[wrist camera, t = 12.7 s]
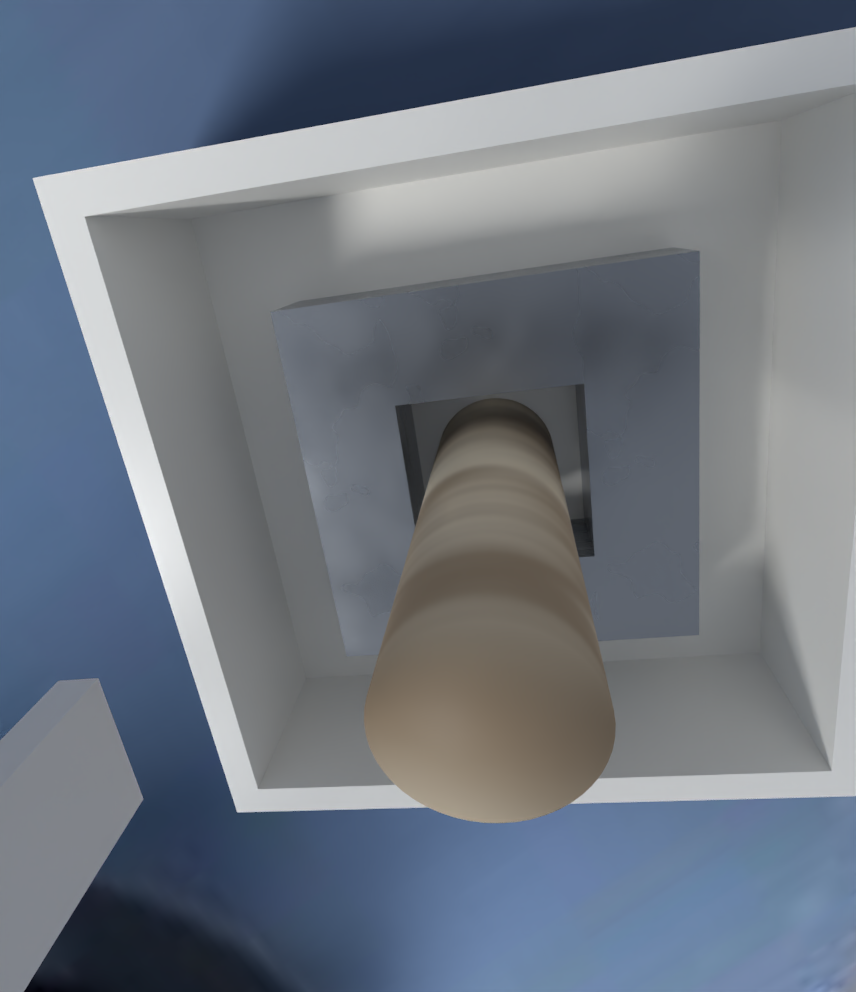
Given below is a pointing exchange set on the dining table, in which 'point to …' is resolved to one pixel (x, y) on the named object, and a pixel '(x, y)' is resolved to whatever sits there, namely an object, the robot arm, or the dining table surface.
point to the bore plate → (502, 369)
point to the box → (502, 395)
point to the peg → (492, 635)
